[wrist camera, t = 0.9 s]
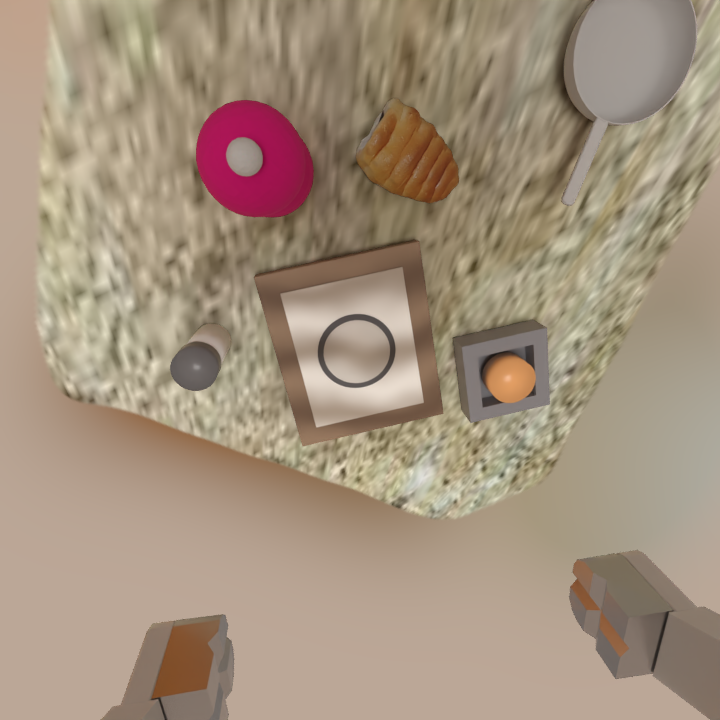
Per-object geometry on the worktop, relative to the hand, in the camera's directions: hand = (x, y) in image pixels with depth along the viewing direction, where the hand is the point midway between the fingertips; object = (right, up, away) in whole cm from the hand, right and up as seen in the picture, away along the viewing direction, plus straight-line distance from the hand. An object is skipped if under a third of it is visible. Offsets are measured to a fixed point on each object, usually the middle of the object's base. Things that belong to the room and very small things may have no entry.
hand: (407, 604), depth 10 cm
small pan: (+20, +29, +31) cm, 47 cm away
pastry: (+3, +25, +31) cm, 39 cm away
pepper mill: (-9, +23, +30) cm, 38 cm away
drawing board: (-2, +7, +36) cm, 37 cm away
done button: (+14, +4, +37) cm, 40 cm away
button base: (+14, +5, +39) cm, 42 cm away
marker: (-16, +8, +34) cm, 39 cm away
